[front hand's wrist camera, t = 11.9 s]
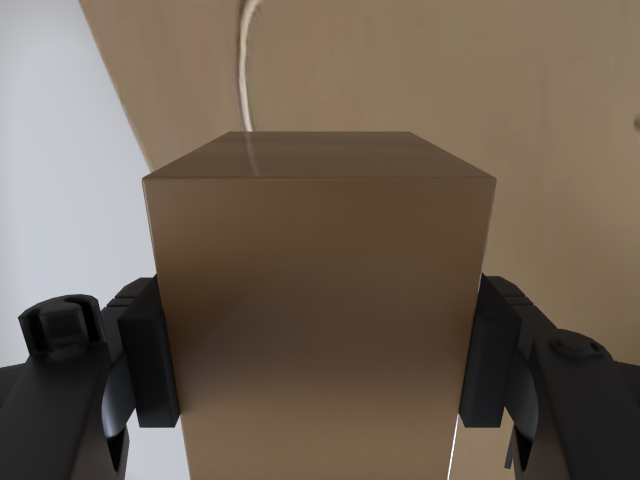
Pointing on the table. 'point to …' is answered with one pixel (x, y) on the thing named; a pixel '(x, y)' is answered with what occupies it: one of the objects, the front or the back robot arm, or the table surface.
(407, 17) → the table surface
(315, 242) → the block
